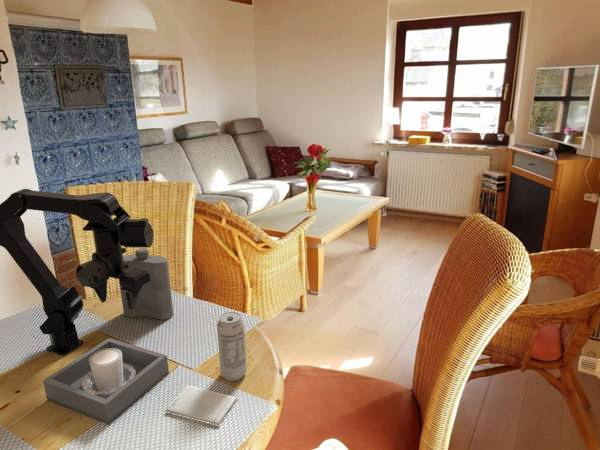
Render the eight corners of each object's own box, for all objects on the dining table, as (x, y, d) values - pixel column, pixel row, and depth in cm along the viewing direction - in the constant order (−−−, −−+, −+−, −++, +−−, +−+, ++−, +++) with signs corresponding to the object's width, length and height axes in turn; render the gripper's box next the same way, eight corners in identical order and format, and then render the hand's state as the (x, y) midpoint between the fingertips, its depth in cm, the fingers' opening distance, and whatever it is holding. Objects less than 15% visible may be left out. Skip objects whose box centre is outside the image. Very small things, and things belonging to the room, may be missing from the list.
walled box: (47, 400, 99) (42, 380, 97) (111, 355, 114) (108, 337, 113) (109, 425, 92) (105, 404, 90) (169, 373, 107) (166, 355, 105)
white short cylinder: (132, 378, 104) (128, 351, 102) (109, 396, 98) (104, 369, 96) (110, 370, 107) (106, 344, 105) (86, 388, 101) (81, 361, 99)
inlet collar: (71, 391, 100) (70, 385, 100) (110, 363, 110) (110, 358, 109) (109, 405, 96) (108, 399, 95) (146, 375, 105) (145, 370, 105)
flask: (177, 311, 135) (170, 247, 129) (168, 321, 130) (161, 255, 124) (131, 307, 138) (122, 245, 132) (120, 316, 132) (110, 252, 126)
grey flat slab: (165, 408, 94) (218, 422, 91) (187, 384, 102) (237, 395, 98) (166, 415, 95) (219, 429, 91) (187, 390, 102) (238, 402, 98)
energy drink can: (246, 365, 110) (243, 309, 105) (247, 381, 104) (244, 323, 99) (221, 367, 109) (216, 311, 104) (220, 383, 103) (215, 325, 99)
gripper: (51, 252, 106) (63, 312, 111) (111, 265, 98) (121, 329, 103) (90, 237, 115) (99, 293, 120) (148, 248, 108) (155, 307, 113)
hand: (117, 305), depth 114 cm, fingers open, 9 cm apart
